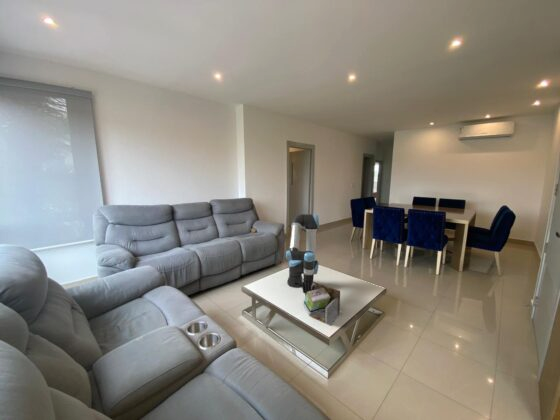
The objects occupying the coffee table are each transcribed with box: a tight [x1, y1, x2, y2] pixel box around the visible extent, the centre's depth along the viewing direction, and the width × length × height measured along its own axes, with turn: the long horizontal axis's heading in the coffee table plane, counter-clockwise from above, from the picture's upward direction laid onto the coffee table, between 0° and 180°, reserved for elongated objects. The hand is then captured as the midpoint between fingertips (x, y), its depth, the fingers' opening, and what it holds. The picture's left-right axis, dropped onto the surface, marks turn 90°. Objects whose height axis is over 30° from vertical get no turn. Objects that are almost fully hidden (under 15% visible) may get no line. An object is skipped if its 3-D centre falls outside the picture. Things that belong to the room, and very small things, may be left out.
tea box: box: [302, 287, 331, 316], centre depth 169 cm, size 15×10×15 cm
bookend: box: [324, 296, 342, 326], centre depth 162 cm, size 4×18×12 cm, turn 141°
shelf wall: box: [311, 281, 341, 324], centre depth 170 cm, size 26×19×16 cm
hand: (307, 302), depth 175 cm, fingers closed
